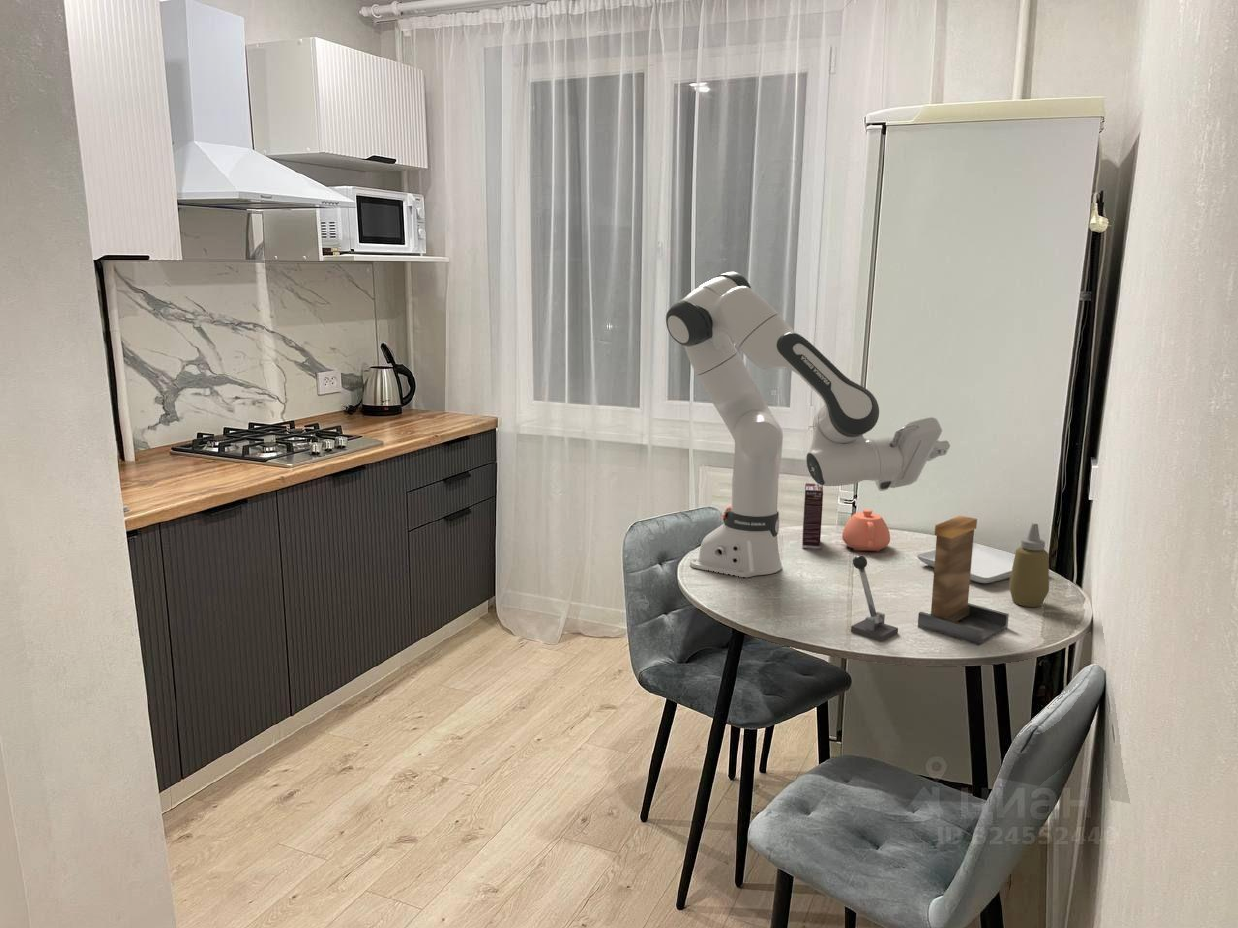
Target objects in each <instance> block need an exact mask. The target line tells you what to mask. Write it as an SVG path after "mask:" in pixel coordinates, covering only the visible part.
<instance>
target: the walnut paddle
mask: <svg viewBox="0 0 1238 928" xmlns="http://www.w3.org/2000/svg"><path fill="white" fill-rule="evenodd" d="M977 523H978V518H975V517H974V518H973V517H969V516H964V515H958V516H956V517H953V518H951V519H948V520H946V521H942V522H940V523H937V524H935V525H934V527H935V528H934V536H936V540H935V541H936V542H935V550H936V552H935V566H934V567H933V568H934V570H933V581H932V593H931V594H932V595H931V596H932V597H931V608H930V609H931V610H930V614H931V615H935V616H938V617H942V618H945V619H949V620H952V621H956V622H957V621H959V620H961V619H962V618H964V617H966V616H968V615H969V614H970V607H968V603H969V595H970V584H971V580H970V573H971V561H972V549H973V543H974V535H975V534H974V533H975V530H976V529H977V527H978V525H977Z"/></svg>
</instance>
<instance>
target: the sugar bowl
mask: <svg viewBox="0 0 1238 928" xmlns="http://www.w3.org/2000/svg"><path fill="white" fill-rule="evenodd" d="M841 538H842V540H843V542H844V544H845V545H846V546H847V547H848V548H852V549H853V551H856V552H861V551H873V552H881V550H884V549H885V548H886V547H888V545H889V544H891V543H890V542H891V533H890V531H889V527H888V525H887V524H886V521H885V520H884V518H883V517H882V516H881V515H880V514H877V513H873V510H872V509H863V510H862V512H856V513H854V514H852V516H850V518H849V520H847V522H846V523H845V526H844V528H843V531H842V533H841Z"/></svg>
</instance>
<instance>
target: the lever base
mask: <svg viewBox="0 0 1238 928" xmlns="http://www.w3.org/2000/svg"><path fill="white" fill-rule="evenodd" d="M876 614H879V615H881V617H882V619H883V621H882V623H881V624H879V625H877V626H875V627H874V625H875V619H874V618H870V617H871V616H866V617H865V619H863V620H860V621H859V622H857V623H855V624H852V625H851V626H850V632H851V633H853V632H854V633H853V634H857V635H860V636H863V637H867V638H869V639H872V640H875V641H878V642H881V643H882V642H885V641H887V640H888V639H891V638H892V637H894V636H895V635H898V634H899V627H896V626H892V625H889V624H887V623H885V618H886V614H885V613H883V612H880V611H876Z"/></svg>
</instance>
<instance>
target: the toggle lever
mask: <svg viewBox="0 0 1238 928" xmlns="http://www.w3.org/2000/svg"><path fill="white" fill-rule="evenodd" d="M852 565H853V567H854V568H855V569H857V570H858V571H859V572H858V573H859V577H860V580H861V583H862V587H863V590H864V591H863V592H864V595H865V599H866V603H867V607H868V610H869V615H870V616H869V617H870V618H874V619H875V625H874V627H875V626H877V625H879V624H881V623H882V621H883V619H882V617H881V615H879V614H876V612H877V610H876V607H875V604H874V599H873V596H872V591H871V587H870V584H869V580H868V577H867V572H866V567H867V565H868V559H867V558H866V557H865V556H864V555H861V554H860V555H859V554H858V555H856V556H855V557H854V558H853V560H852Z"/></svg>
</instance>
